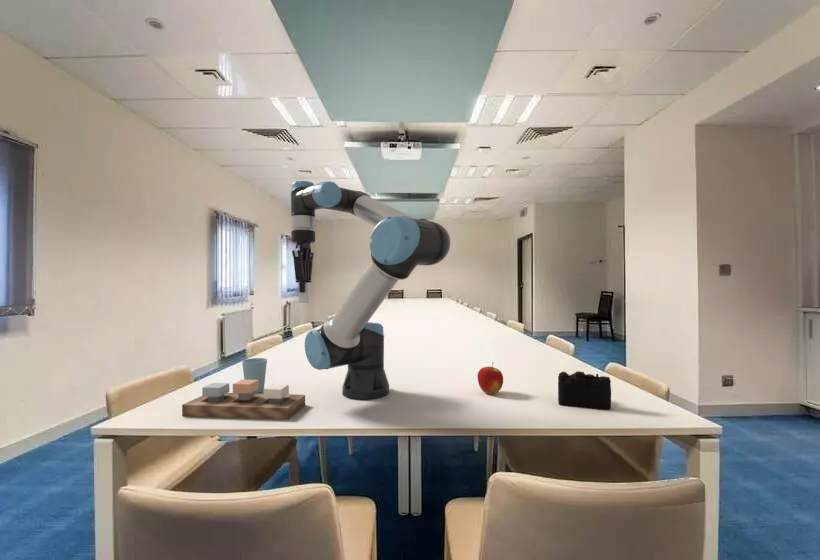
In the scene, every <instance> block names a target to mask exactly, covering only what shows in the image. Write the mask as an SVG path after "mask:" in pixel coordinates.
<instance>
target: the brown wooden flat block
mask: <svg viewBox="0 0 820 560" xmlns="http://www.w3.org/2000/svg"><path fill="white" fill-rule="evenodd" d="M305 406H306V394H291V393H289V394H287V395H286V396H284V402H283V403H282V404H269V398H264V393H257V394H255V393H254V397H253V398H251V399H250V400H238V393H233V392H228V393H226V394H224V400H223V401H221V402H208V397H205V396H202V395H200V396H198V397H196V398H193V399H192V400H190V401H188V402H186V403H184V404H181V416H182V417H200V418H202V417H203V418H204V417H206V418H207V417H209V418H231V419H232V418H233V419H234V418H237V419H262V420H265V419H268V420H290V419H291V417H293V416H294V415H296V414H297V413H298V412H299V411H300V410H301V409H303V408H304V407H305Z"/></svg>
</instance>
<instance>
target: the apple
mask: <svg viewBox="0 0 820 560" xmlns="http://www.w3.org/2000/svg"><path fill="white" fill-rule="evenodd" d="M493 365H494V362H492V365H491V366H485V367H481V368H480V369H478V370H479V371H478V372H477V383H478V386H479V387H480V389H481V390H482V392H484V393H485V394H488V395H489V394H491V395H492V394H496V393H499V391H501V389H502V387H503V385H504V374H503V373H502V371H501V370H500V369H498V368H497V367H494V366H493Z"/></svg>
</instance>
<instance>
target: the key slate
mask: <svg viewBox="0 0 820 560" xmlns="http://www.w3.org/2000/svg"><path fill="white" fill-rule="evenodd" d="M201 389H202V395H201V396H205V397H208V402H221V401H223V400H224V394H226V393H230V382H212V383H210V384H207V385H205V386H203V387H202V388H201Z"/></svg>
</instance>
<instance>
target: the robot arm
mask: <svg viewBox="0 0 820 560" xmlns="http://www.w3.org/2000/svg"><path fill="white" fill-rule="evenodd" d="M290 187H291V191H290V211H291V212H290V214H291V218H290V220H289V223H290V224H291V225H290V226H291V229H292V230H291V233H290V234H291V236H290V237H291V242H292V243H295V249H293V250H292V251H291V253H292V257H293V266H294V267H293V268H294V275H295V276H294V277H295V283H298V303H299V304H309V301H310V300H309V299H310V297H309V294H310V293H309V283H312V272H313V271H312V270H313V260H314V255H315V254H314V252H312V248H311V244H313V243H315V242H316V232H315V229H316V211H317V210H322V209H323V210H330V211H337V212H343V213H348V214H351V215H353V216H355V217H357V218H358V219H361V220H362V221H364V222H366V223H368V224H370V225H372V226H373V230H372V232H371V234H370V238H369V239H370V240H371V241H370V242H369V249H370V252H369V257H370V259H371V261H370V262H369V264H368V265H367V267H366V269H364V272H363V273H362V274H361V276H360V277H359V279H358V280H357V282H356V284H355V285H354V287H353V288H352V289H351V291H350V292H349V294H348V295H347V297H346V299H345V300H344V302H343V303H342V304H341V306H340V308H339V309H338V310H337V313H336V314H335V315H334V316H330V317H327V319H326V320H325V321H324V322H323V324H322V325H321V327H320V328H318V329H315V328H314V329H313V330H309V331H308V332H307V334H306V335H305V339H304V352H305V355H306V358H307V360H308V363H309V364H310V366H311V367H312V368H314V369H315V370H320V371H322V370H330V369H333V368H338V367H343V366H346V365H347V372H346V375H345V376H344V377H345V378H344V381H343V384H342V388H341V389H342V395H343V396H344V397H346V398H348V399H354V400H373V399H378V398H382V397H385V396H388V395H389V394H390V383H389V381H388V377H387V374H386V370H385V368H384V367H385V365H384V364H385V354H384V353H385V351H384V350H385V334H384V327H383V325H382V324H381V323H380V322H372V321H371V322H369V321H370V319H372V316H373V315H375V313H376V312H377V310H378V309H379V307H380V306H381V305H382V303H383V301H385V299H386V298H387V296H388V295H389V294H390V292H391V291H392V290H393V288H395V287H394V286H395V285H396V284H397V283H398V281H401V280H406V279H407V278H409V277H410V276H411V274H412V272H413V271H414V270H415V268H416V267H418V266H433V265H436V264H438V263H440V262H442V261H443V260H444V259H445V258H446V257H447V255H448V254H449V252H450V250H451V249H450V247H451V237H450V234H449V232H448V230H447V229H446V228H445V227H444V226H443V225H442V224H440V223H438V222H435V221H431V220H429V219H426V218H420V217H419V218H416V217H413V216H411V215H409V214H407V213H405V212H402V211H401V210H399V209H396V208H394V207H391V206H390V205H388V204H385V203H383V202H381V201H379V200H377V199H375V198H372V197H371V195H370V194H368V193H367V192H363V191H360V190H353V189H348V188H345V187H341V186H339V185H338V184H336V183H335V182H334V181H330V180H329V181H321V182H319V183H316V184H315V183H313V182H312V181H308V180H299V181H298V180H296V181H293V182H292V184H291V186H290Z"/></svg>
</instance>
